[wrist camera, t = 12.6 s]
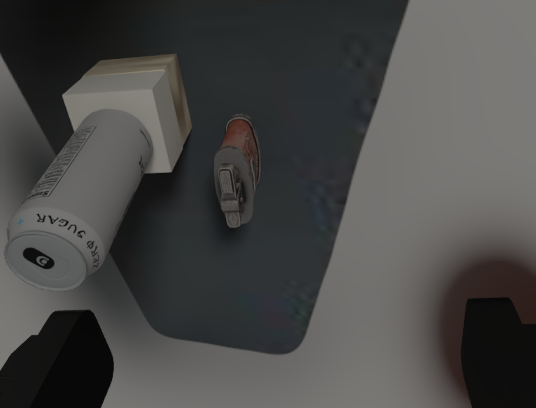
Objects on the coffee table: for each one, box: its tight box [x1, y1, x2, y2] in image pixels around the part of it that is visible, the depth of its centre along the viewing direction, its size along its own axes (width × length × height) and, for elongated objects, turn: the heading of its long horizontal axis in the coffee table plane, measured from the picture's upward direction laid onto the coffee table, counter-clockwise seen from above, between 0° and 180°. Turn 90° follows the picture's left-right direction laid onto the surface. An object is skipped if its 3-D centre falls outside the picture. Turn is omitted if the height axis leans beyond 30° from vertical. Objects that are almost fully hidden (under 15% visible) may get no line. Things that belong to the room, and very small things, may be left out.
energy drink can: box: [4, 109, 153, 291], centre depth 36 cm, size 6×6×15 cm
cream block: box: [62, 70, 183, 173], centre depth 44 cm, size 8×8×4 cm
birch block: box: [82, 54, 192, 145], centre depth 47 cm, size 8×8×4 cm
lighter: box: [214, 114, 261, 227], centre depth 47 cm, size 8×3×10 cm, turn 6°
